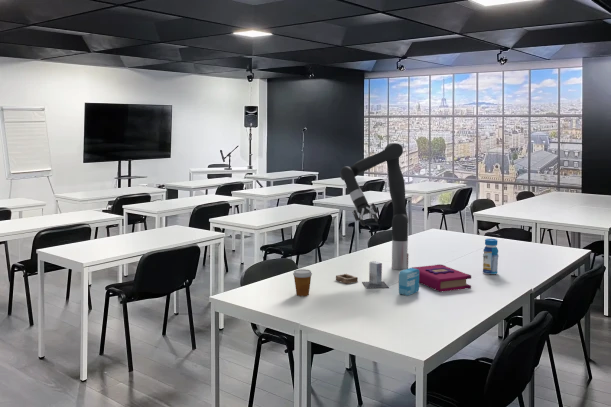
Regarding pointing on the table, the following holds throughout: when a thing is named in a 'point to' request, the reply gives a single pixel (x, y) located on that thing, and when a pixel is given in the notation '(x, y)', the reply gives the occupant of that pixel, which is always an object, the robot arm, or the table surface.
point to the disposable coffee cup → (302, 281)
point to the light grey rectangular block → (375, 273)
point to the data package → (408, 281)
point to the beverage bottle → (490, 257)
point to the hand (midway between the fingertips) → (370, 223)
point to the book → (442, 278)
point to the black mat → (375, 286)
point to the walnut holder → (346, 278)
